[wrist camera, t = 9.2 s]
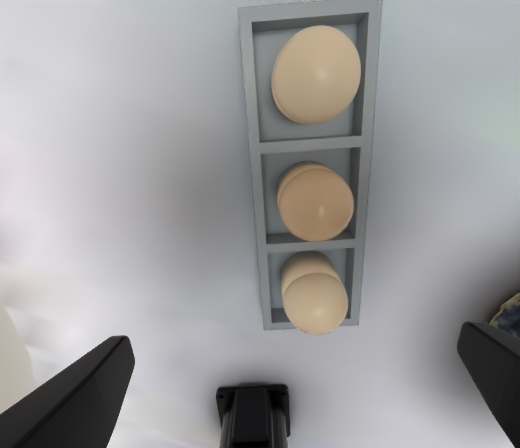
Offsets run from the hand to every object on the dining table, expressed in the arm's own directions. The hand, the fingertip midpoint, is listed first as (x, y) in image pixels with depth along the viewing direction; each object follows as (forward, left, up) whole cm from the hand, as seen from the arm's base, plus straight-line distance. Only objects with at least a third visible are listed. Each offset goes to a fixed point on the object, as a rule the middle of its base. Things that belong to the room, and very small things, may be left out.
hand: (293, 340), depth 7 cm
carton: (+1, -2, -12) cm, 12 cm away
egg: (+1, -2, -12) cm, 12 cm away
